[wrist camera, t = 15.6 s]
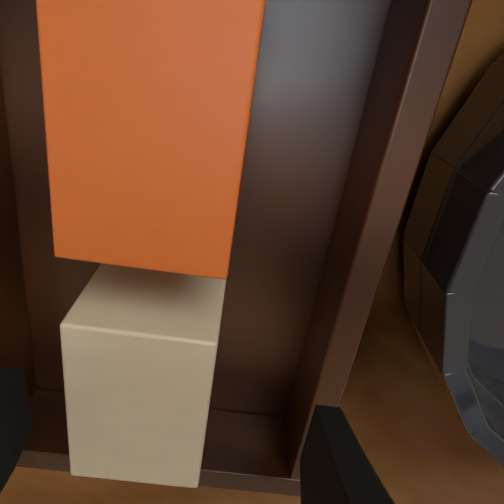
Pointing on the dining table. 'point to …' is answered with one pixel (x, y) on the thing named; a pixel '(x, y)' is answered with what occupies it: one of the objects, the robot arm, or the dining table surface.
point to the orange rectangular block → (147, 128)
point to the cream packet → (140, 374)
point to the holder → (250, 222)
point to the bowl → (464, 262)
